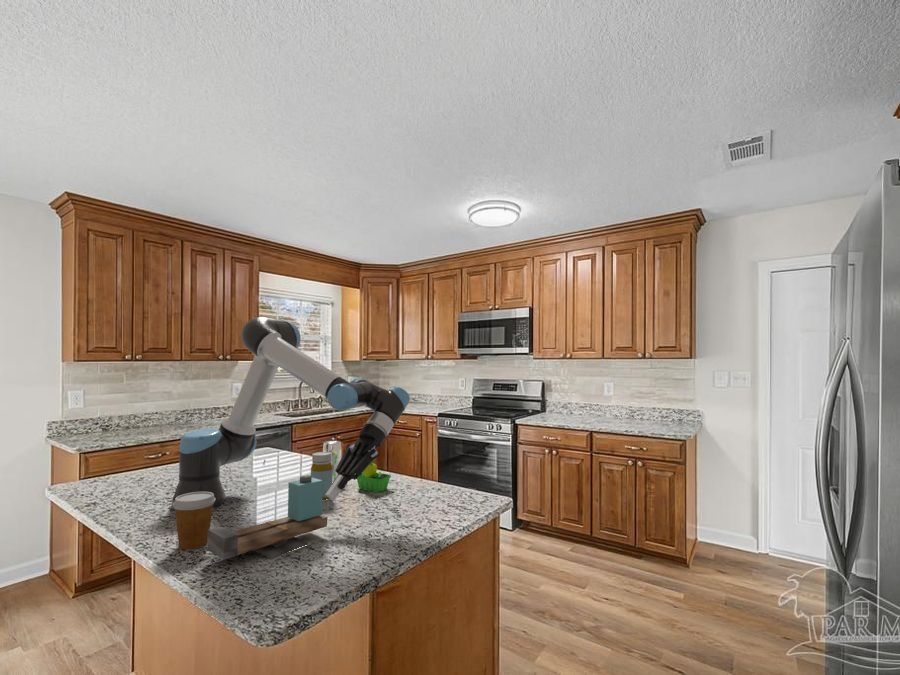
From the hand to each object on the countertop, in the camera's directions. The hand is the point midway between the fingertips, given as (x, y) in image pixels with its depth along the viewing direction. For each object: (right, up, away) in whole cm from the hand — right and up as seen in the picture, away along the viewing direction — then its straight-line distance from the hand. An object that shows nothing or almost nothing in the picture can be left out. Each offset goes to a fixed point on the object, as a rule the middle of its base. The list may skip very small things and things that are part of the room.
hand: (329, 497), depth 129 cm
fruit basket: (+5, -11, +40) cm, 41 cm away
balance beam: (-11, -8, -14) cm, 19 cm away
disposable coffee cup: (-31, -8, -12) cm, 34 cm away
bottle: (-10, -10, +28) cm, 32 cm away
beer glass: (-12, -11, +51) cm, 54 cm away
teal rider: (-5, -5, -6) cm, 9 cm away
